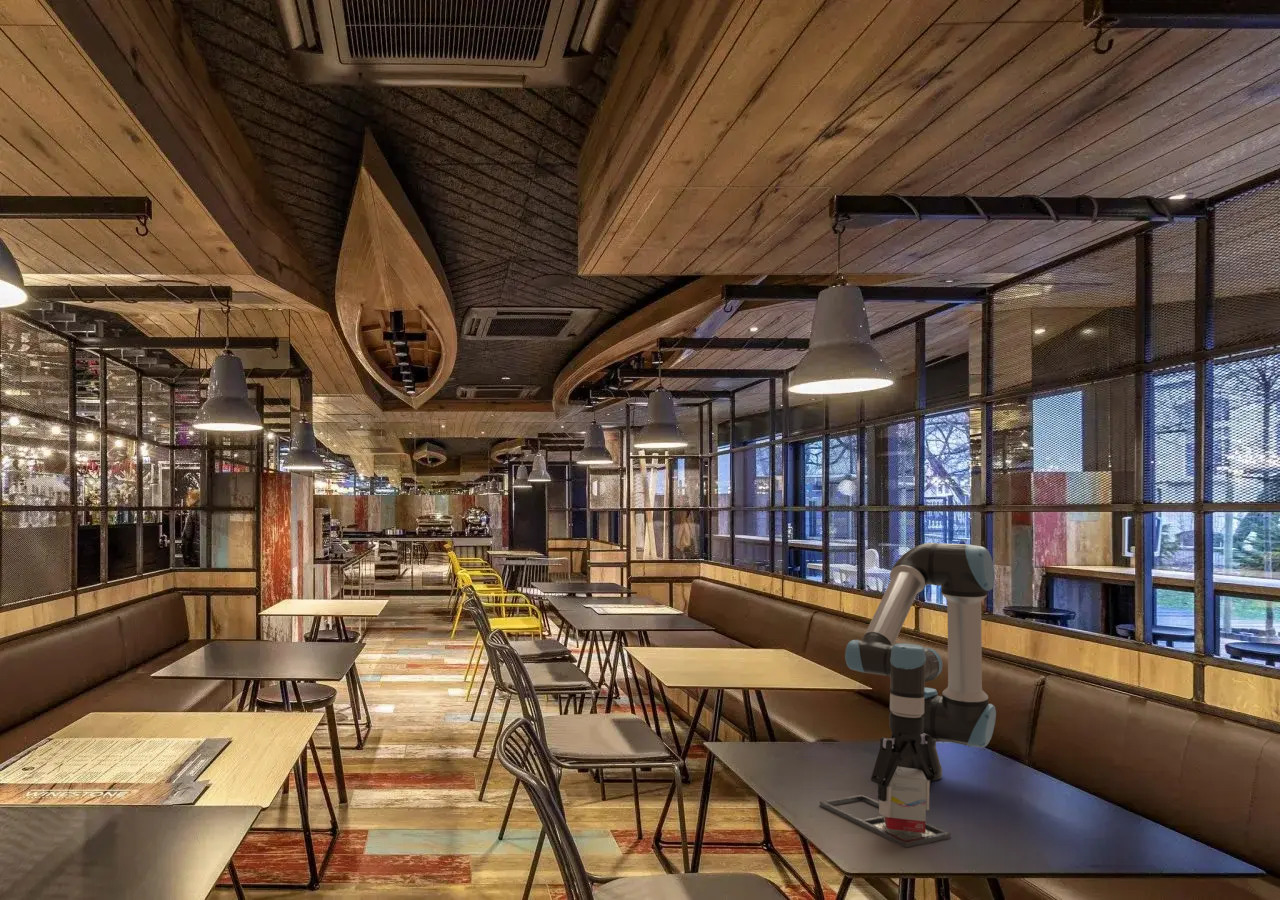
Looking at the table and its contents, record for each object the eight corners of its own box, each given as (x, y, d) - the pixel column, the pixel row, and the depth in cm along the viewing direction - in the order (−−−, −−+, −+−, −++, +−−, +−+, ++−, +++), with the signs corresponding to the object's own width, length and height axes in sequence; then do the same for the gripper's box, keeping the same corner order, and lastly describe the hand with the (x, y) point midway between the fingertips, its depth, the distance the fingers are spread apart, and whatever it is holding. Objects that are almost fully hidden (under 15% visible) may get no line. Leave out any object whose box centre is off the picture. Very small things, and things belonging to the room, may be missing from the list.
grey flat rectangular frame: (862, 798, 206) (862, 794, 206) (950, 837, 183) (950, 833, 183) (819, 805, 199) (819, 801, 199) (905, 847, 176) (905, 843, 176)
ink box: (926, 834, 180) (927, 778, 181) (885, 829, 182) (887, 774, 183) (921, 820, 189) (922, 767, 190) (882, 815, 190) (883, 763, 191)
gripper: (929, 706, 196) (927, 799, 195) (856, 713, 185) (853, 813, 183) (955, 713, 190) (953, 810, 188) (881, 721, 178) (878, 824, 177)
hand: (904, 811), depth 186 cm, fingers closed on ink box, 11 cm apart
